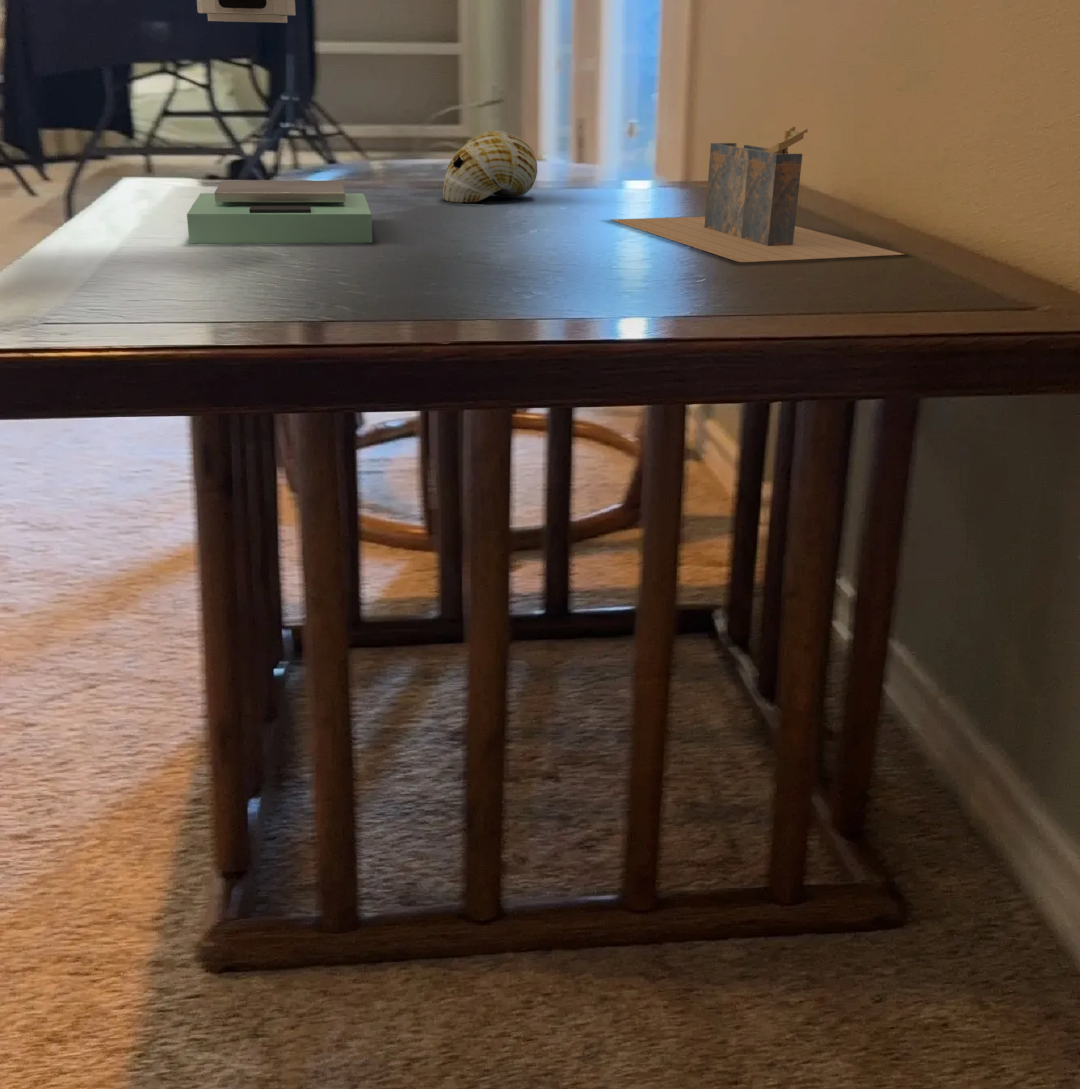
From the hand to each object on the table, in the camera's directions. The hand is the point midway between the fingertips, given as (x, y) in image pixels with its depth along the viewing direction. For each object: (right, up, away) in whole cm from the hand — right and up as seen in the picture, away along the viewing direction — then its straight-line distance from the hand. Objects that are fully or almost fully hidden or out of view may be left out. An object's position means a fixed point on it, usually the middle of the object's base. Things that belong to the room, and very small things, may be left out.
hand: (246, 7), depth 84 cm
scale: (-2, -11, +20) cm, 23 cm away
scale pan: (-2, -7, +21) cm, 22 cm away
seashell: (+16, -1, +45) cm, 48 cm away
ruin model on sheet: (+40, -10, +24) cm, 48 cm away
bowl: (0, -1, 0) cm, 1 cm away
